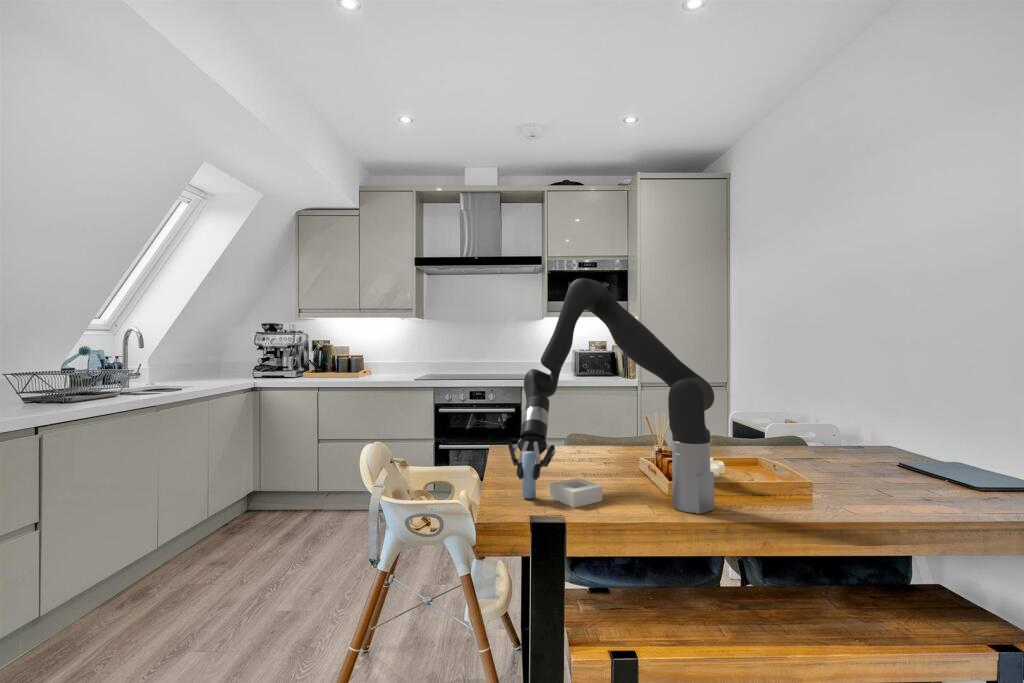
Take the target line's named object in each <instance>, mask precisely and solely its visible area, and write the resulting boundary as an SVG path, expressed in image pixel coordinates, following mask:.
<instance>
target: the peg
mask: <svg viewBox="0 0 1024 683" xmlns="http://www.w3.org/2000/svg"><path fill="white" fill-rule="evenodd" d="M535 464H536V458H535V452H533V451H524V452H522V479H521V480H522V498H523V499H534V498H536V497H537V496H536V495H537V491H536V490H537V488H536V487H537V486H536V483H537V482H536V481H537V480H534V468H535Z"/></svg>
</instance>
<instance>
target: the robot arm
mask: <svg viewBox="0 0 1024 683" xmlns="http://www.w3.org/2000/svg"><path fill="white" fill-rule="evenodd" d="M584 311H589V313H592V314H593V315H594V316H596V317H597V318H598V319H599V320H600V321H601V322H603V324H604V325H605V327H607V330H608V331H609V334H610V335H611V338H612V340H613V341H614V343H615V344H616V345H617V347H618V348H619V349H620V350H621V352H623V353H624V354H625V355H626V356H627V357H628V358H629V360H631V361H632V362H634V363H635V364H636V365H638V367H641V368H642V369H643V370H646V371H648V372H649V373H651V374H653V375H655V376H656V377H658V378H659V379H661V381H662V382H664V383H665V384H666V385H667V386H668V387H669V391H668V397H667V400H668V401H667V404H668V405H667V406H668V407H667V408H668V424H669V430H670V432H671V435H672V436H671V437H672V438H671V440H672V442H671V444H672V446H671V448H672V449H671V451H672V452H671V454H672V456H671V457H672V458H671V459H672V462H671V464H672V465H671V467H672V468H671V470H672V507H673V509H676V510H678V511H681V512H685V513H691V514H693V513H694V514H697V515H701V514H705V513H708V512H711V511H714V510H715V473H714V471H711V432H710V430H709V428H708V427H707V426H706V417H705V411H707V410H710V408H711V407H713V405H714V403H715V393H714V389H713V387H712V385H711V384H710V383H709V382H708V381H707V380H705V379H704V378H703V377H702V376H701V375H699V374H698V373H697V372H695V371H694V370H693V369H691V368H690V367H688V366H687V365H686V364H685V363H683V362H682V361H681V360H680V359H679V358H678V357H677V356H676V355H675V354H674V353H673V352H672V351H671V350H670V349H669V348H668V347H667V346H666V345H665V344H664V343H663V342H662V341H661V340H660V339H659V338H658V337H657V336H656V335H655V334H654V333H653V332H651V330H650V329H649V328H647V327H646V325H644V324H643V322H641V321H640V320H639V319H637V318H636V317H635V316H634V315H633V314H632V313H630V312H629V311H627V310H626V309H625V308H624V307H623V306H622V305H621V304H620V303H619V302H618V301H617V300H616V298H615V297H614V296H613V295H612V293H611V292H609V290H608V288H607V287H605V285H604V284H602V282H600V281H598V280H594V279H590V278H585V277H581V278H580V277H578V278H576V279H575V280H573V281H572V282H571V284H569V286H568V289H567V292H566V294H565V298H564V300H563V304H562V307H561V310H560V313H559V316H558V320H557V322H556V325H555V328H554V331H553V333H552V335H551V337H550V338H549V341H548V343H547V346H546V348H545V349H544V352H543V353H542V355H541V358H540V363H541V365H542V366H543V367H544V368H546V369H547V370H549V371H550V374H549V373H547V372H544V371H541V370H539V369H535V368H532V369H530V370H528V371H527V372H526V374H525V376H524V377H523V378H524V380H523V387H524V393H525V400H526V403H525V410H524V414H523V418H522V422H521V428H520V436H519V440H518V441H517V443H514V444H513V443H508V445H507V446H508V450H509V454H510V458H511V461H512V465H513V466H514V467H516V466H517V468H516V476H517V478H518V480H522V452H524V451H533V452H535V468H534V480H536V481H538V479H539V478H540V477H541V469H542V467H545V468H548V466H549V464H550V462H551V461H552V459H553V458H554V456H555V454H556V446H555V445H553V444H551V445H549V444H548V443H547V436H548V428H549V410H550V400H549V398H550V397H552V396H554V395H555V393H556V392H557V389H558V384H559V380H560V375H561V371H562V368H563V366H564V365H565V364H564V363H565V361H566V360H567V358H568V355H569V354H570V352H571V350H572V346H573V342H574V335H575V329H576V325H577V322H578V321H579V319H580V317H581V315H582V314H583V313H584ZM517 450H519V451H520V454H519V457H518V458H517V457H516V452H517ZM545 451H546V454H545V455H544V457H543V458H542V459H541V455H542V454H543V453H544V452H545Z"/></svg>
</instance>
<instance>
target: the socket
mask: <svg viewBox="0 0 1024 683" xmlns="http://www.w3.org/2000/svg"><path fill="white" fill-rule="evenodd" d="M549 498H550V499H551V498H553V499H552V500H554V499H555V500H554V501H556V500H557V502H559V501H560V502H559V503H561V502H562V504H563V503H564V505H566V506H568V505H569V507H571V508H578V507H582V506H586V505H587V506H588V505H590V504H595V503H598V502H603V485H601V484H598V483H594V482H592V481H588V480H587V479H582V478H579V477H576V478H570V479H566V480H560V481H556V482H551V483H549Z"/></svg>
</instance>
